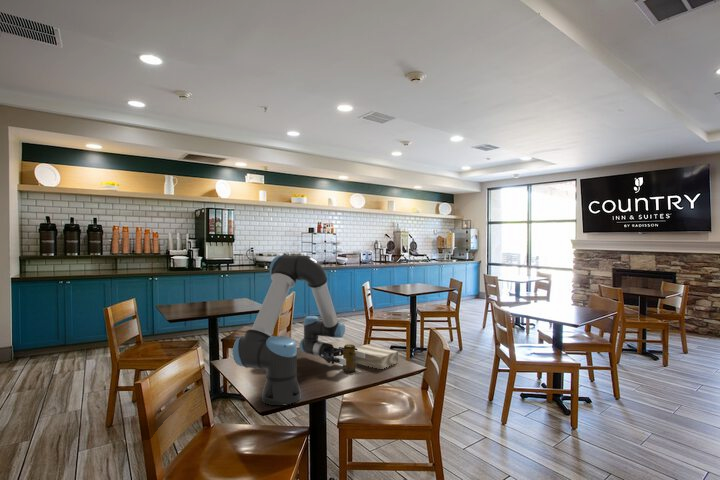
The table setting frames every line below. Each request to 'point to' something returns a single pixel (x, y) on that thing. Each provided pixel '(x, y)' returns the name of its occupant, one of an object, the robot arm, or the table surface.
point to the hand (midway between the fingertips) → (355, 358)
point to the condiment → (349, 360)
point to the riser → (377, 356)
